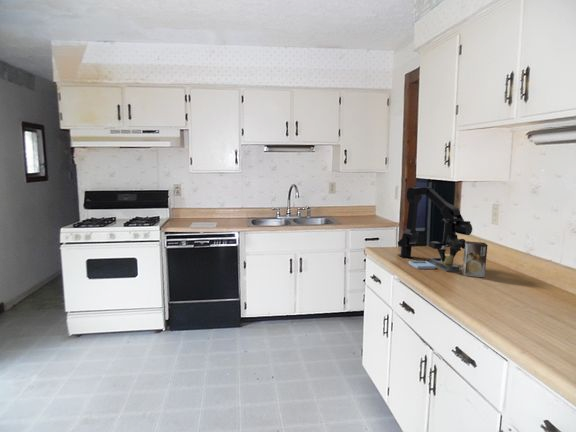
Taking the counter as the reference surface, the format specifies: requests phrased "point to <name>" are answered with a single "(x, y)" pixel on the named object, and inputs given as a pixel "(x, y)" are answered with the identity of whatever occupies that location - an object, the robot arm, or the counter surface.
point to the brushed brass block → (448, 259)
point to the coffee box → (474, 259)
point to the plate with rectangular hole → (445, 267)
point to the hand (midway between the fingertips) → (446, 261)
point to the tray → (422, 265)
